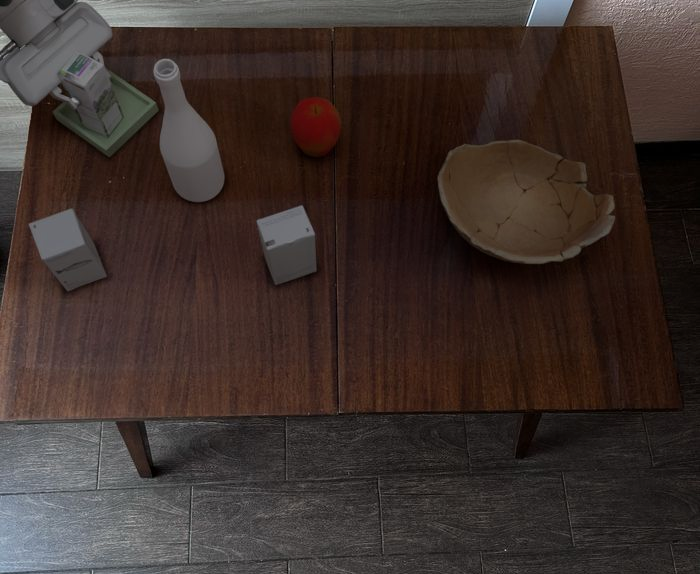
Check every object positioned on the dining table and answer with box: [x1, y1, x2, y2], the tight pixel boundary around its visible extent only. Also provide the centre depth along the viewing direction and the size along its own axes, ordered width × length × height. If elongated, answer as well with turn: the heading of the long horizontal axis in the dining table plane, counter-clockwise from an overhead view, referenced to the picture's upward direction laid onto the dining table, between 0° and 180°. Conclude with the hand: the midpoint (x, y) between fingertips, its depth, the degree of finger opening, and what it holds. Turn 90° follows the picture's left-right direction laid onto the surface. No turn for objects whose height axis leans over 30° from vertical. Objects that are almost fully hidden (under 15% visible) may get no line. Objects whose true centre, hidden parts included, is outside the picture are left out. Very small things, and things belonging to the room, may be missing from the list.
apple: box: [290, 96, 342, 158], centre depth 127 cm, size 9×9×12 cm
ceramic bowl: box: [436, 139, 616, 265], centre depth 123 cm, size 30×27×15 cm
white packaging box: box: [28, 208, 108, 292], centre depth 116 cm, size 7×7×13 cm
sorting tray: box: [52, 67, 160, 158], centre depth 132 cm, size 14×14×2 cm
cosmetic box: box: [256, 205, 318, 286], centre depth 117 cm, size 8×6×15 cm
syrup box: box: [57, 52, 124, 138], centre depth 124 cm, size 6×6×14 cm
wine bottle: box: [152, 58, 225, 203], centre depth 115 cm, size 10×10×30 cm
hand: (92, 93), depth 123 cm, fingers closed on syrup box, 6 cm apart
